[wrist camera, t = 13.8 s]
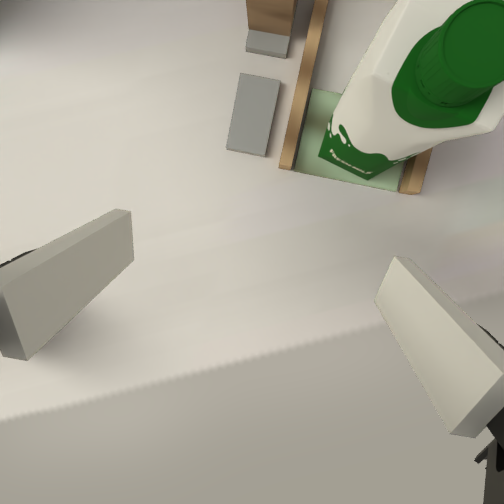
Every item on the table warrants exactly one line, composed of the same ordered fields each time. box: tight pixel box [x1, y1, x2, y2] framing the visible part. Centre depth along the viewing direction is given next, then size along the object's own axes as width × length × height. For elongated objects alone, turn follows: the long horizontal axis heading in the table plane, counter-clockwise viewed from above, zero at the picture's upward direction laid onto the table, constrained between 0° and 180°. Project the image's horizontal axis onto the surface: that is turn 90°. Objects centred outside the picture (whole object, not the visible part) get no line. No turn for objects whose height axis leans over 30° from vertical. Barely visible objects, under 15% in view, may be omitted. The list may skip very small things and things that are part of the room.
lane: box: [279, 0, 433, 195], centre depth 30 cm, size 25×17×2 cm
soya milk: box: [318, 0, 504, 181], centre depth 22 cm, size 9×9×20 cm
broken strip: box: [226, 0, 298, 157], centre depth 31 cm, size 21×5×1 cm, turn 168°
